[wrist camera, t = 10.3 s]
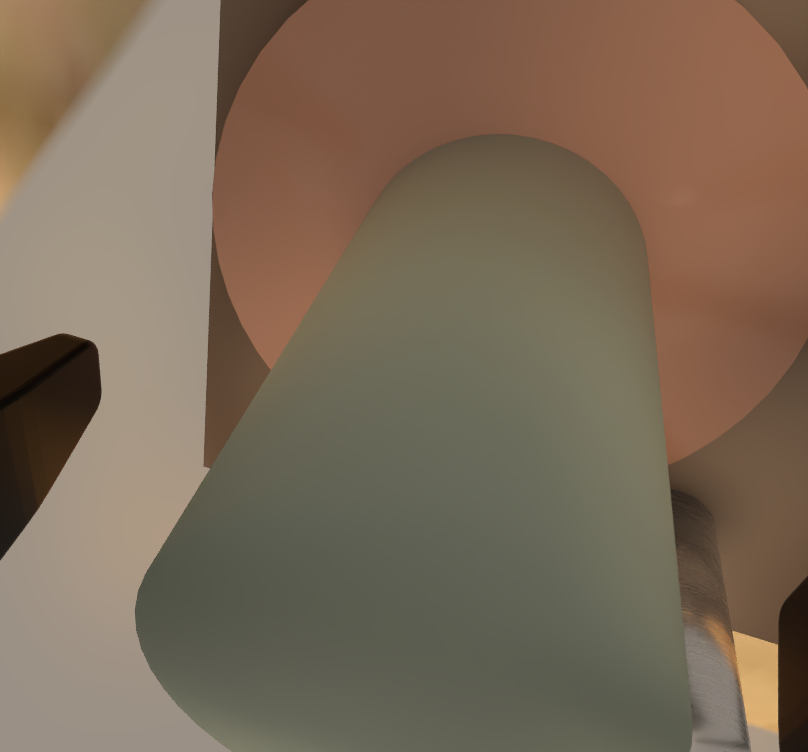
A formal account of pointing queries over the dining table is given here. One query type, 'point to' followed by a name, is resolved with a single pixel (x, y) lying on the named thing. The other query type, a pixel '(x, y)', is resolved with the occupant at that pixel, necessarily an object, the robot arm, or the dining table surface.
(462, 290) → the sage cylinder
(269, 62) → the course board
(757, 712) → the dining table surface
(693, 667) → the steel post
